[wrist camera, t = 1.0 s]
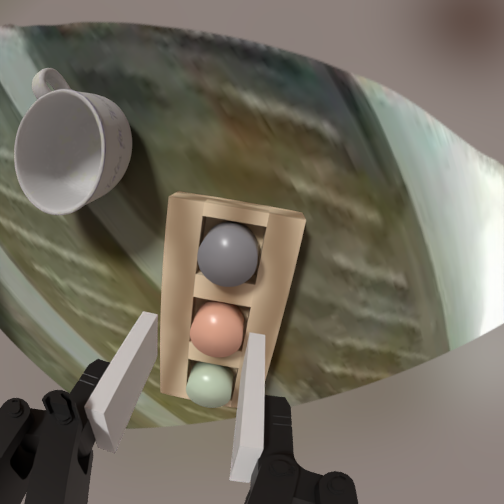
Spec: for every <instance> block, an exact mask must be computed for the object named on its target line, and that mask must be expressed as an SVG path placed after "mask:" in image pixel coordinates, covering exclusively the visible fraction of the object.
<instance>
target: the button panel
mask: <svg viewBox="0 0 504 504" xmlns="http://www.w3.org/2000/svg"><path fill="white" fill-rule="evenodd" d="M226 221H234V222H239V223H241V224H243V225H245V226H247V227H248V228H249V229H250V230H251V231H252V232H253V233H254V235H255V237H256V239H257V242H258V259H257V267H256V270H255V272H254V274H253V275H252V276H251V278H250V279H249V280H248V281H246V282H245V283H243V284H241V285H238V286H234V287H223V286H219V285H216V284H214V283H212V282H211V281H209V280H208V279H207V278H206V277H205V276H204V275H203V273H202V272H201V270H200V268H199V265H198V260H197V254H198V250H199V247H200V245H201V243H202V242H203V240H204V238H205V237H206V235H207V233H208V232H209V231H210V230H211V228H213V227H214V226H215V225H217V224H219V223H222V222H226ZM305 223H306V219H305V217H304V215H303V213H302V212H297V211H291V210H286V209H281V208H275V207H270V206H265V205H259V204H253V203H248V202H242V201H236V200H230V199H224V198H218V197H212V196H206V195H199V194H193V193H186V192H180V191H178V192H176V193H174V194H173V195H171V196H169V200H168V210H167V220H166V231H165V244H164V258H163V274H162V294H161V326H160V385H161V393H164V394H168V395H172V396H177V397H181V398H186V399H190V398H189V397H188V395H187V393H186V386H187V383H188V379H189V376H190V373H191V369H192V367H193V366H194V364H196V363H197V362H199V361H201V362H206V363H211V364H217V365H222V366H228V367H229V368H230V369H231V371H232V373H233V385H232V392H231V398H230V400H229V402H228V403H227V404H225V405H223V406H228V407H235V408H237V406H238V396H239V387H240V378H241V371H242V366H243V361H244V357H245V352H246V347H247V342H248V338H249V333H256V334H263V335H265V380H266V376H267V373H268V369H269V365H270V362H271V358H272V355H273V351H274V347H275V344H276V340H277V336H278V333H279V329H280V325H281V321H282V317H283V314H284V310H285V306H286V302H287V298H288V294H289V290H290V286H291V282H292V278H293V274H294V270H295V266H296V262H297V257H298V253H299V249H300V245H301V240H302V236H303V232H304V227H305ZM209 300H214V301H219V302H225V303H230V304H234V305H236V306H237V307H238V308H239V309H240V311H241V312H242V314H243V317H244V328H243V336H242V343H241V346H240V348H239V349H238V350H237V351H236V352H235V353H234V354H232V355H230V356H227V357H220V358H219V357H211V356H208V355H205V354H203V353H202V352H200V351H199V350H198V349H197V348H196V347H195V346H194V345H193V343H192V341H191V339H190V329H191V326H192V323H193V321H194V318H195V316H196V313H197V310H198V309H199V307H200V306H201V305H202V304H203V303H205V302H207V301H209Z"/></svg>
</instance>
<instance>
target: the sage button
mask: <svg viewBox="0 0 504 504" xmlns="http://www.w3.org/2000/svg"><path fill="white" fill-rule="evenodd" d="M232 385H233V373H232V371H231V369H230V368H229V367H228V366H222V365H217V364H211V363H206V362H201V361H199V362H197V363H196V364H194V366H193V367H192V369H191V373H190V376H189V379H188V383H187V386H186V393H187V395H188V397H189V398H190V399H191V400H192V401H193V402H195V403H196V404H198V405H201V406H204V407H209V408H216V407H221V406H223V405H225V404H227V403H228V402H229V400H230V398H231V392H232Z"/></svg>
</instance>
